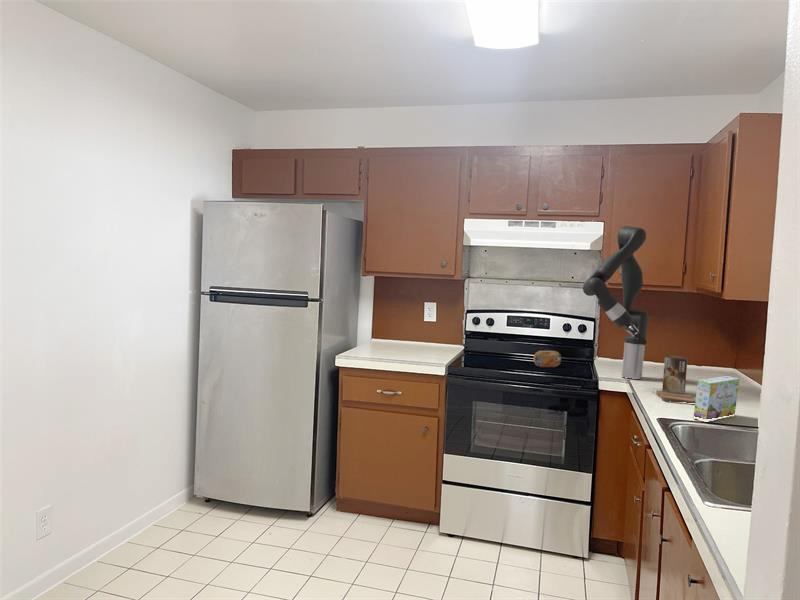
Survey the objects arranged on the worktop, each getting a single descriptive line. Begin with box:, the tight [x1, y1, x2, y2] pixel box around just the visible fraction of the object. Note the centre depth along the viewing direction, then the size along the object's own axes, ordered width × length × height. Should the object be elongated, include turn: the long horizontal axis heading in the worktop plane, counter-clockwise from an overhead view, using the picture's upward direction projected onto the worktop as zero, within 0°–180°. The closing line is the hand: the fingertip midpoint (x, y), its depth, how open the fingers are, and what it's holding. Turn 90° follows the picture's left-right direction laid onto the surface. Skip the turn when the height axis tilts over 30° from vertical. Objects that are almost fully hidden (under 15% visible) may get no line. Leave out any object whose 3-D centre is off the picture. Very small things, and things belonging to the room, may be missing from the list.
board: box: [655, 390, 696, 403], centre depth 251 cm, size 14×13×2 cm
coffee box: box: [661, 354, 688, 393], centre depth 262 cm, size 9×6×16 cm
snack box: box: [693, 375, 740, 419], centre depth 223 cm, size 21×6×15 cm, turn 126°
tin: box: [533, 350, 562, 368], centre depth 309 cm, size 15×3×8 cm, turn 105°
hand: (643, 342), depth 263 cm, fingers open, 8 cm apart
